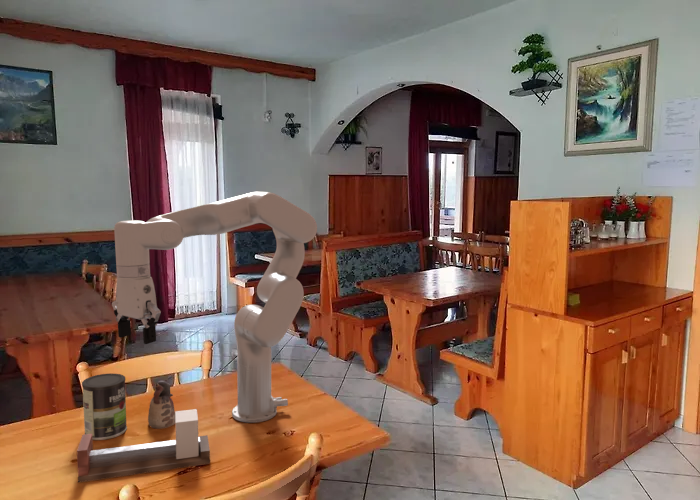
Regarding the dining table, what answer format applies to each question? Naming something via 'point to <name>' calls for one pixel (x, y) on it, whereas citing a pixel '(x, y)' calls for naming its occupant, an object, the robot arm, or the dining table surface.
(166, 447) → the beam
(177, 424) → the block
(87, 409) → the coffee can
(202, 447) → the board
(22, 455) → the dining table surface
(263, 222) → the robot arm
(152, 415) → the figurine
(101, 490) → the dining table surface
